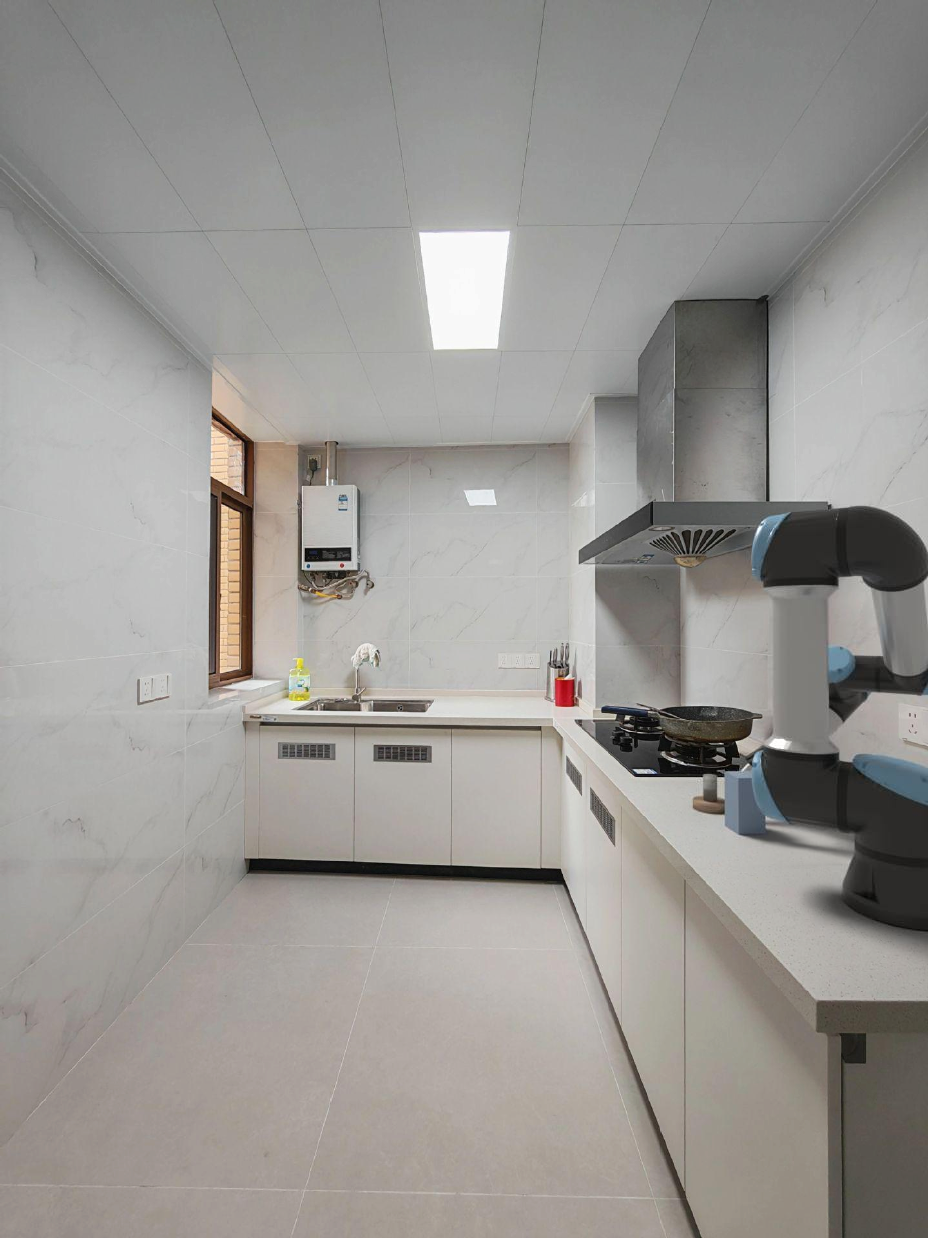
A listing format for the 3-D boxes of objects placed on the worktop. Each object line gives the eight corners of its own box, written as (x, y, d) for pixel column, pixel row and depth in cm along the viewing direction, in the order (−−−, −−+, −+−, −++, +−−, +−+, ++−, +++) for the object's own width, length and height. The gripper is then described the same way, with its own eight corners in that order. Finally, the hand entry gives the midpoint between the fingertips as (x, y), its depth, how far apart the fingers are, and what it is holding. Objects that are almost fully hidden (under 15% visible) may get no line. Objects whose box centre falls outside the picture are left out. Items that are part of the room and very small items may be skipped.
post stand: (727, 815, 146) (727, 781, 146) (691, 811, 149) (690, 777, 149) (729, 806, 153) (728, 773, 153) (694, 802, 156) (694, 770, 156)
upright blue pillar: (765, 833, 133) (765, 777, 133) (738, 834, 133) (738, 778, 133) (750, 824, 139) (750, 771, 139) (724, 825, 139) (724, 771, 139)
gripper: (865, 750, 125) (794, 827, 124) (792, 728, 150) (732, 792, 149) (839, 724, 125) (768, 801, 124) (770, 707, 150) (711, 771, 149)
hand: (749, 796), depth 137 cm, fingers open, 13 cm apart
